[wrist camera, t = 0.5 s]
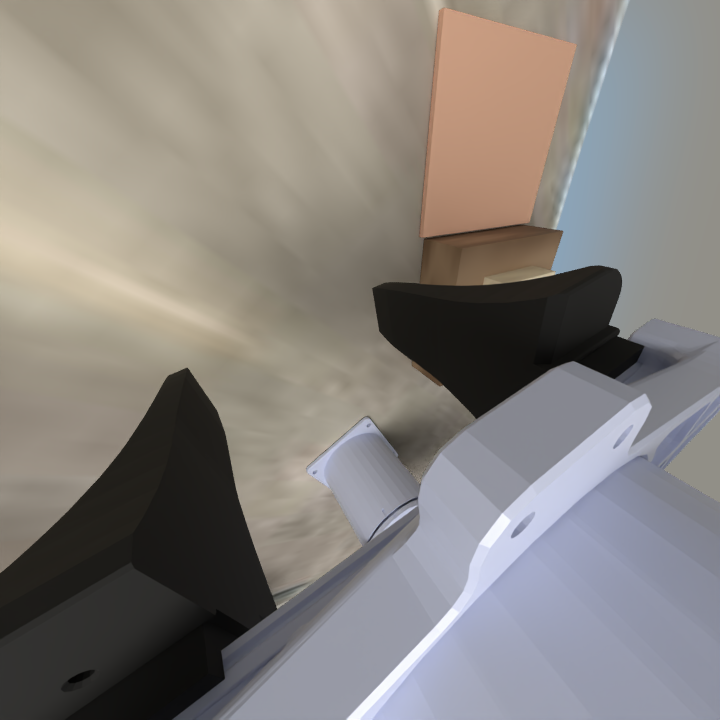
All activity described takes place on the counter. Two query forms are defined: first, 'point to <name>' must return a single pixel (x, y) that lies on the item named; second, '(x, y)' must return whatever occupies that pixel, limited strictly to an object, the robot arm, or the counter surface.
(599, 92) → the counter surface
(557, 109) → the mat
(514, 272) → the tile
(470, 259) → the brown flat block
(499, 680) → the robot arm
